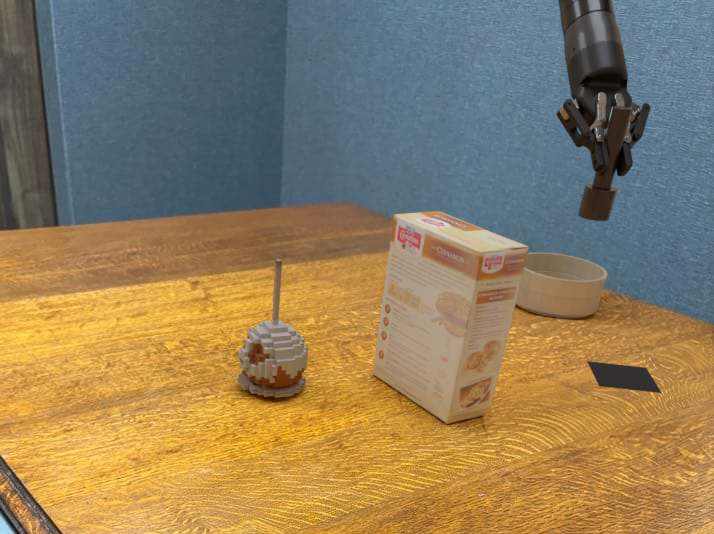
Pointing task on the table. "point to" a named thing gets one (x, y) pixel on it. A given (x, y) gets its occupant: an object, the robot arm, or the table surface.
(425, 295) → the coffeecake box
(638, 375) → the coaster
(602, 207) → the pestle
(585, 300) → the bowl
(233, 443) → the table surface
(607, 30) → the robot arm
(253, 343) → the decorative ornament
